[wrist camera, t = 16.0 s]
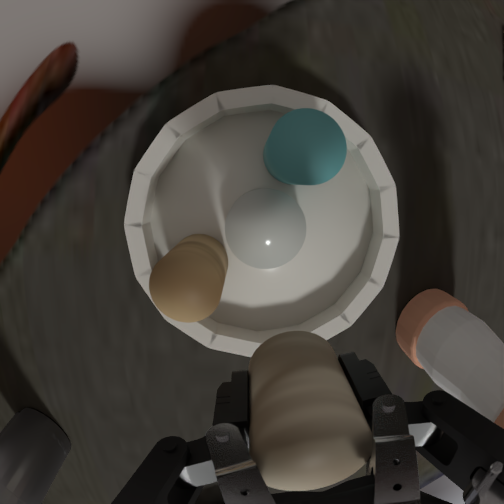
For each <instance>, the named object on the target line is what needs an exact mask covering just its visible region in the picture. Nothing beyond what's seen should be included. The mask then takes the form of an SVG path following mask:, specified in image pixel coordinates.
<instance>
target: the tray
mask: <svg viewBox="0 0 504 504" xmlns="http://www.w3.org/2000/svg"><path fill="white" fill-rule="evenodd" d="M300 108H311V109H316V110H319V111H322V112H324V113H326V114H328V115H329V116H330V117H332V118H333V119H334V120H335V121H336V122H337V123H338V125H339V126H340V128H341V129H342V131H343V133H344V136H345V139H346V144H347V154H346V159H345V162H344V164H343V166H342V168H341V170H340V171H339V172H338V173H337V175H335V176H334V177H333V178H332V179H330V180H329V181H327V182H325V183H322V184H318V185H292V184H285V183H282V182H280V181H278V180H277V179H275V178H274V177H273V176H272V175H271V174H270V173H269V172H268V170H267V168H266V166H265V164H264V160H263V150H264V146H265V143H266V141H267V139H268V137H269V135H270V133H271V131H272V129H273V127H274V125H275V123H276V122H277V121H278V120H279V119H280V118H281V117H282V116H283V115H285V114H286V113H288V112H290V111H292V110H296V109H300ZM134 170H135V171H134V172H133V177H132V182H131V187H130V192H129V197H128V203H127V209H126V214H125V220H124V224H125V225H124V228H125V233H126V238H127V243H128V247H129V252H130V256H131V261H132V265H133V269H134V273H135V277H136V279H137V280H138V282H139V283H140V285H141V286H142V288H143V289H144V290H145V292H146V293H147V295H148V296H149V298H150V299H151V300H152V298H151V295H150V290H149V278H150V274H151V272H152V269H153V268H154V266H155V265H156V264H157V262H158V261H159V260H161V259H162V258H163V257H164V256H165V255H166V254H167V253H168V252H169V251H170V250H171V249H172V248H174V247H175V246H176V245H177V244H178V243H179V242H180V241H181V240H182V239H184V238H185V237H187V236H190V235H193V234H205V235H209V236H211V237H213V238H215V239H216V240H218V241H219V242H220V243H221V244H222V246H223V247H224V249H225V251H226V253H227V256H228V269H227V274H226V278H225V282H224V287H223V291H222V295H221V299H220V302H219V305H218V306H217V308H216V309H215V311H214V312H213V313H212V314H211V315H210V316H208V317H207V318H205V319H203V320H201V321H197V322H191V323H186V322H179V321H176V320H173V319H171V318H169V317H168V316H166V315H165V314H163V313H162V312H161V311H160V310H159V309H158V308H157V306H156V305H155V303H154V302H153V300H152V302H153V303H154V305H155V306H156V308H157V309H158V310H159V312H160V313H161V314H162V316H163V317H164V319H165V320H166V319H167V320H166V321H168V322H169V323H171V324H172V325H174V326H175V327H177V328H178V329H180V330H181V331H183V332H184V333H186V334H187V335H189V336H190V337H192V338H194V339H195V340H197V341H198V342H200V343H201V344H203V345H205V346H206V347H209V348H211V349H215V350H220V351H224V352H229V353H233V354H238V355H243V356H248V357H252V355H253V353H254V352H255V350H256V349H257V348H258V347H259V346H260V345H261V344H262V343H263V342H264V341H266V340H267V339H269V338H271V337H273V336H275V335H277V334H280V333H284V332H288V331H307V332H311V333H314V334H317V335H319V336H321V337H322V338H324V339H325V340H328V339H329V338H331V337H333V336H335V335H336V334H338V333H340V332H342V331H343V330H345V329H347V328H348V327H350V326H351V325H352V324H353V323H354V322H355V321H356V320H357V319H358V317H359V316H360V315H361V314H362V313H363V311H364V310H365V309H366V308H367V307H368V305H369V304H370V303H371V302H372V300H373V299H374V298H375V297H376V295H377V294H378V293H379V292H380V290H381V289H382V288H383V286H384V284H385V281H386V278H387V275H388V272H389V269H390V266H391V263H392V260H393V257H394V254H395V250H396V247H397V244H398V241H399V238H398V237H399V219H398V205H397V194H396V185H395V182H394V180H393V178H392V176H391V174H390V172H389V170H388V168H387V166H386V164H385V162H384V160H383V158H382V156H381V154H380V152H379V150H378V148H377V146H376V145H375V143H374V141H373V139H372V137H370V135H369V134H368V133H367V132H366V131H364V130H363V129H362V128H361V127H360V126H359V125H358V124H356V123H355V122H354V121H353V120H352V119H350V118H349V117H348V116H347V115H346V114H344V113H343V112H342V111H341V110H339V109H338V108H337V107H336V106H334V105H333V104H332V103H331V102H329V101H328V102H327V100H325V99H322V98H319V97H316V96H312V95H309V94H306V93H302V92H299V91H295V90H292V89H288V88H284V87H280V86H276V85H273V86H272V85H264V86H256V87H248V88H241V89H234V90H227V91H221V92H216V94H215V93H214V94H212V95H210V96H208V97H207V98H205V99H203V100H202V101H200V102H198V103H197V104H195V105H193V106H192V107H190V108H189V109H187V110H185V111H184V112H182V113H181V114H179V115H178V116H176V117H175V118H173V119H172V120H170V121H169V122H167V124H165V125H164V127H163V128H162V129H161V131H160V132H159V134H158V135H157V136H156V138H155V139H154V141H153V142H152V144H151V145H150V147H149V148H148V150H147V151H146V153H145V154H144V156H143V157H142V159H141V160H140V162H139V163H138V165H137V166H136V168H135V169H134ZM350 324H351V325H350Z"/></svg>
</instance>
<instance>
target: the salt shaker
mask: <svg viewBox="0 0 504 504" xmlns="http://www.w3.org/2000/svg"><path fill="white" fill-rule="evenodd" d="M396 338H397V342H398V344H399V345H400V347H401V349H402V350H403V351H404V352H405V353H406V354H407V356H408V357H409V358H410V359H411V360H412V362H413V363H414V364H415V365H417V366H418V367H420V368H422V369H425V371H426V372H427V373H428V374H429V376H430V377H431V378H432V380H433V381H434V382H435V383H436V384H437V385H438V386H440V387H441V388H442V389H443V390H445V391H446V392H447V393H449V394H451V395H452V396H454V397H455V398H457V399H458V400H460V401H461V402H463V403H464V404H466V405H468V406H469V407H471V408H472V409H474V410H475V411H477V412H478V413H480V414H481V415H483V416H485V417H486V418H488V419H489V420H491V421H492V422H494V423H495V424H497V425H498V426H500V427H502V428H503V429H504V343H503V342H502V341H501V340H500V339H499V338H498V336H497V335H496V334H495V333H494V332H493V331H492V330H491V329H490V328H489V327H488V325H487V324H486V323H485V322H484V321H482V320H481V319H479V318H478V317H476V316H474V315H473V314H471V313H470V312H468V309H467V307H466V306H465V305H464V304H463V303H462V302H460V301H459V300H457V299H456V298H454V297H453V296H451V295H449V294H448V293H446V292H445V291H442V290H439V289H437V288H436V289H427V290H425V291H423V292H421V293H418V294H417V295H416V296H415V297H414V298H412V299H411V300H410V301H409V302H408V304H407V305H406V306H405V308H404V309H403V310H402V312H401V315H400V317H399V319H398V322H397V327H396Z"/></svg>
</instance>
